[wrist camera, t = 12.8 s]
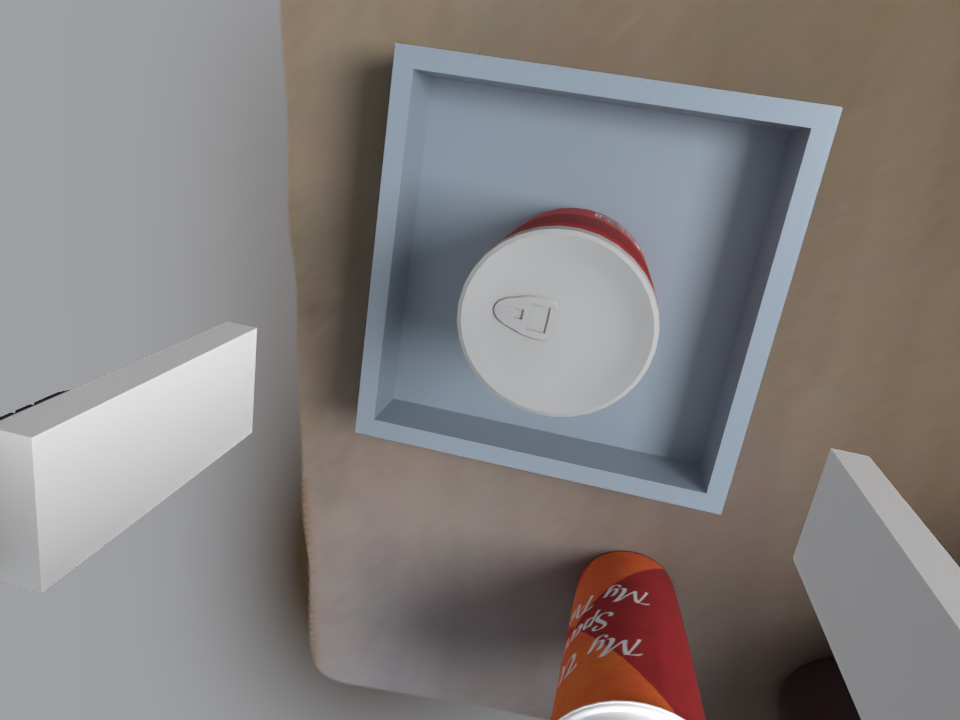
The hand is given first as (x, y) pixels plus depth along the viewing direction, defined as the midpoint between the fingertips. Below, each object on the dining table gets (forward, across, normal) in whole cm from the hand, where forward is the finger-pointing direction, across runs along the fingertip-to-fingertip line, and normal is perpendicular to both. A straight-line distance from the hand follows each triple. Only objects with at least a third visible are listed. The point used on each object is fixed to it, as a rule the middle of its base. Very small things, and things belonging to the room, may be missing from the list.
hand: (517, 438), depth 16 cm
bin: (+24, 0, 0) cm, 24 cm away
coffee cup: (+24, +7, -19) cm, 31 cm away
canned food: (+23, 0, 0) cm, 23 cm away
